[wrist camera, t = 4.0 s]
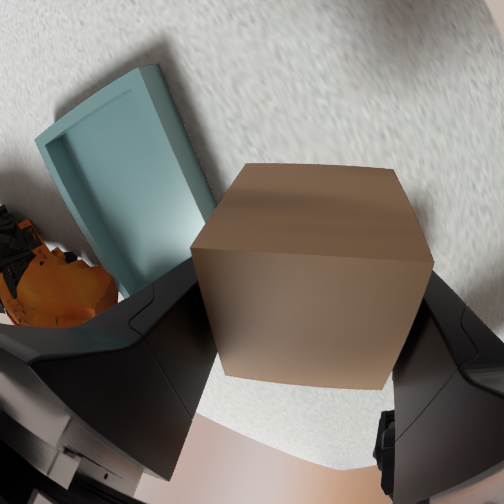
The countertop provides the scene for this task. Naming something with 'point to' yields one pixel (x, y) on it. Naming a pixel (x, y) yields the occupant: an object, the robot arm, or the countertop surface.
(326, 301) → the block walnut
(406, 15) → the countertop surface
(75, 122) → the tray
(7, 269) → the tool
